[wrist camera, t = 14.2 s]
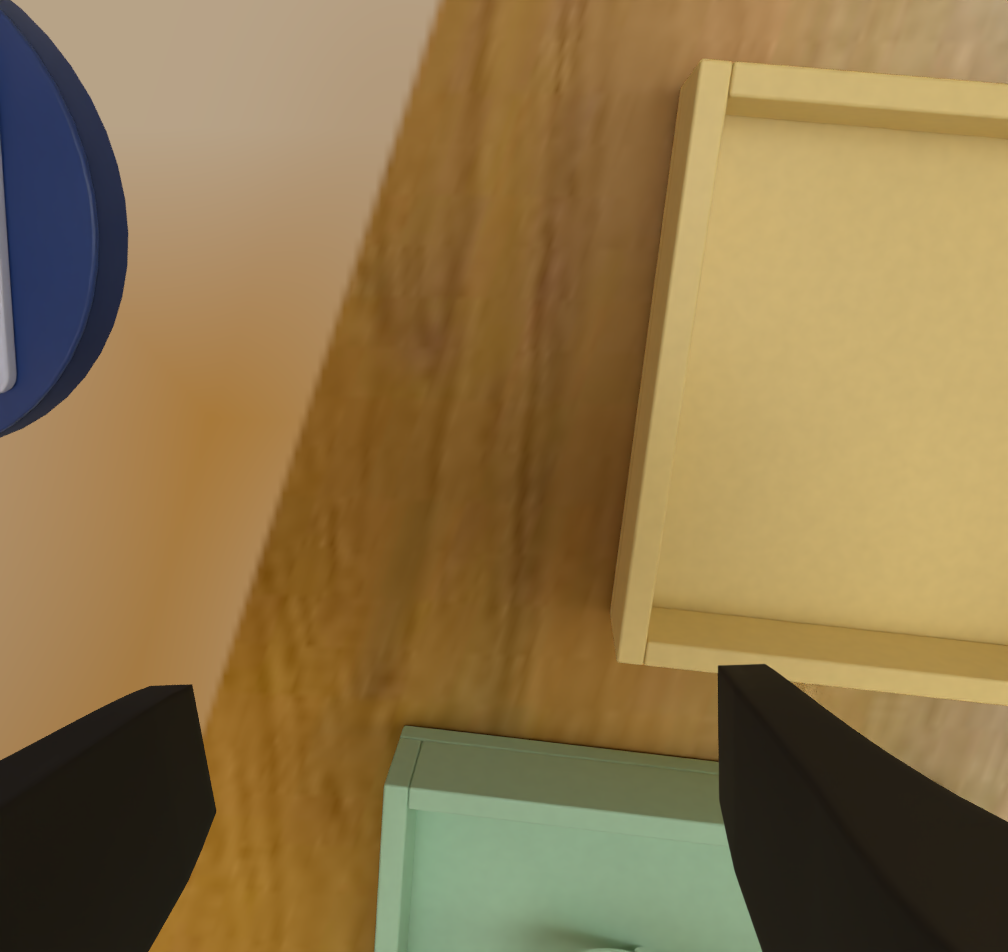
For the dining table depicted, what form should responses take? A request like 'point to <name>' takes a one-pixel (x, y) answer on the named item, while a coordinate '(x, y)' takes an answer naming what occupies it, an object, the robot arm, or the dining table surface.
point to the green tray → (553, 850)
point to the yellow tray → (826, 387)
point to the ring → (607, 951)
